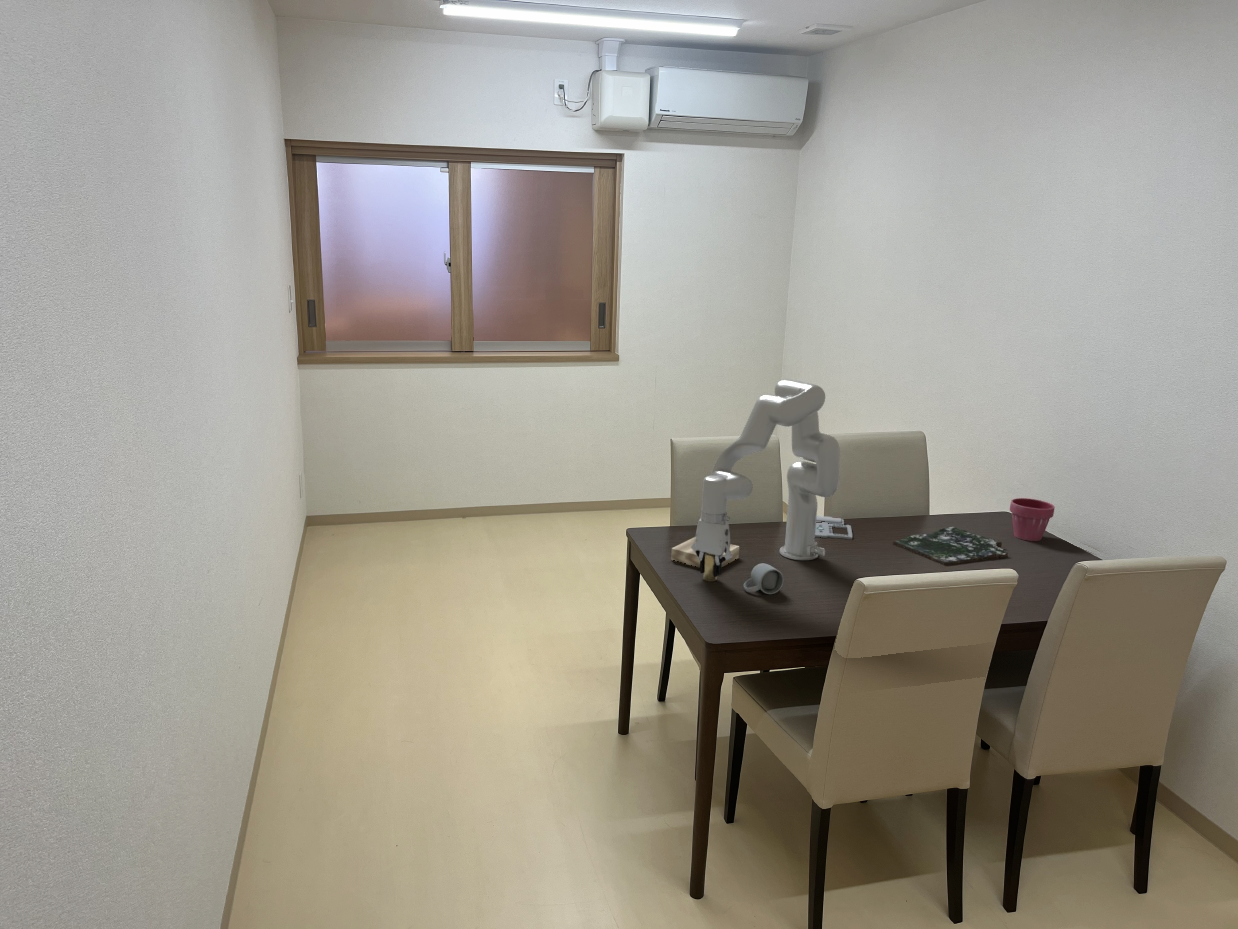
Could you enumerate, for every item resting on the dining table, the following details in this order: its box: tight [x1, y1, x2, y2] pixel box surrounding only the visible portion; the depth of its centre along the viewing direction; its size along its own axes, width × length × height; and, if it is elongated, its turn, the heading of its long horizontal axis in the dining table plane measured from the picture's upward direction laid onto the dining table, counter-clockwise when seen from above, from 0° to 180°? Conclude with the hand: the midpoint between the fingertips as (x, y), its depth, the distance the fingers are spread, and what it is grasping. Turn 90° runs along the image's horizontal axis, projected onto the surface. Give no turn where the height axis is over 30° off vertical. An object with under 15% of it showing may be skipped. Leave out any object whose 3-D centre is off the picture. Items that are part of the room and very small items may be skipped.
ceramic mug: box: [743, 562, 784, 595], centre depth 255 cm, size 11×8×8 cm
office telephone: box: [815, 515, 853, 540], centre depth 314 cm, size 23×3×20 cm
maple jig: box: [670, 536, 740, 569], centre depth 279 cm, size 16×16×4 cm
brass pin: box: [703, 553, 718, 582], centre depth 262 cm, size 4×4×8 cm
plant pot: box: [1009, 497, 1055, 542], centre depth 308 cm, size 14×14×13 cm
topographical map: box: [892, 526, 1009, 566], centre depth 295 cm, size 26×33×3 cm
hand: (710, 573), depth 262 cm, fingers closed on brass pin, 4 cm apart
